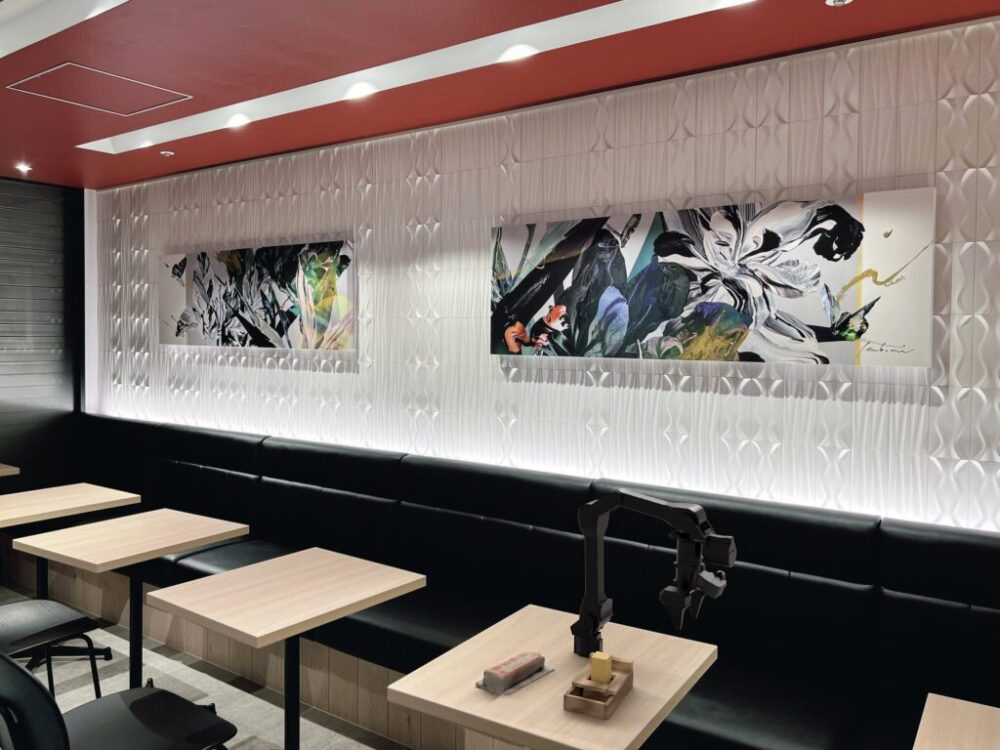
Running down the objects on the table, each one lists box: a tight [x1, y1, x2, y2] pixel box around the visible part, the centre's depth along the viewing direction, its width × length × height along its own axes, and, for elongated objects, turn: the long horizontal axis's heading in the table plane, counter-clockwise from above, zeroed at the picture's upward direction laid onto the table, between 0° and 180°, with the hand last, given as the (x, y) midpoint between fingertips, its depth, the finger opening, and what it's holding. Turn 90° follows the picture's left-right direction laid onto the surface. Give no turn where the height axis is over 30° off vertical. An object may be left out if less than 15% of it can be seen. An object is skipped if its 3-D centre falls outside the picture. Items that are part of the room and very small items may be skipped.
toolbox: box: [562, 672, 634, 721], centre depth 176 cm, size 10×18×4 cm, turn 153°
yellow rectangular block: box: [591, 651, 613, 693], centre depth 177 cm, size 4×4×9 cm
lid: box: [571, 652, 634, 695], centre depth 178 cm, size 10×13×3 cm
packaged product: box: [475, 651, 555, 696], centre depth 186 cm, size 18×5×10 cm
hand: (686, 623), depth 186 cm, fingers open, 9 cm apart
